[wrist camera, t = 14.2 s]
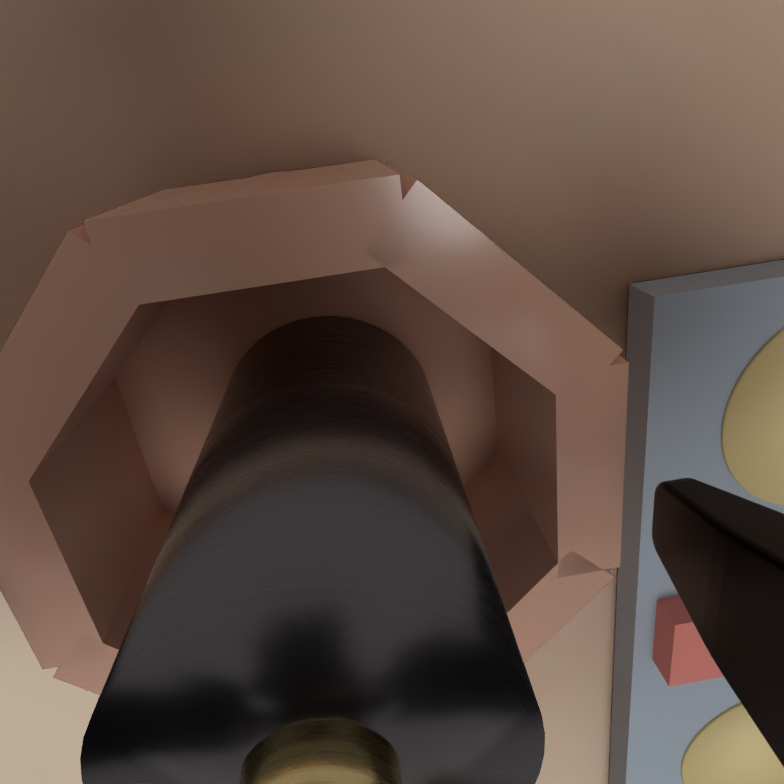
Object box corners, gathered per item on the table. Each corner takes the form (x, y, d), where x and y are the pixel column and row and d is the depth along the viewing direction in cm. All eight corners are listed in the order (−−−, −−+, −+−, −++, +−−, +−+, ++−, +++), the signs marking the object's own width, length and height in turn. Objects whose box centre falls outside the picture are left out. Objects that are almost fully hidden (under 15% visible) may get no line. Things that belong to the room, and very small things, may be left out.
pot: (526, 135, 10) (637, 139, 7) (538, 540, 14) (614, 687, 10) (9, 210, 10) (-177, 259, 6) (163, 606, 14) (103, 782, 10)
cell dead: (417, 298, 11) (560, 622, 4) (442, 481, 12) (574, 932, 6) (199, 337, 11) (-55, 734, 4) (255, 514, 12) (151, 1011, 5)
